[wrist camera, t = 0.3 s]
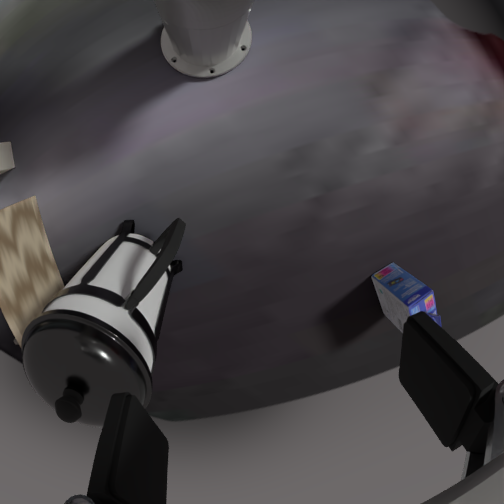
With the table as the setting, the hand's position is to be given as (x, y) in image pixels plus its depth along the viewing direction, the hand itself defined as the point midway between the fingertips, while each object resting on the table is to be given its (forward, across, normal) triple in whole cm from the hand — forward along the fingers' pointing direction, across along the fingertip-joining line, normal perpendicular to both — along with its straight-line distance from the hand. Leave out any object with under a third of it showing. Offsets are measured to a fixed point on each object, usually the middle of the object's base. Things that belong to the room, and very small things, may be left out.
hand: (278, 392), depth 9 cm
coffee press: (+36, +15, +6) cm, 40 cm away
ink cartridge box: (+36, -25, +23) cm, 50 cm away
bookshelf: (+36, +36, +1) cm, 51 cm away
